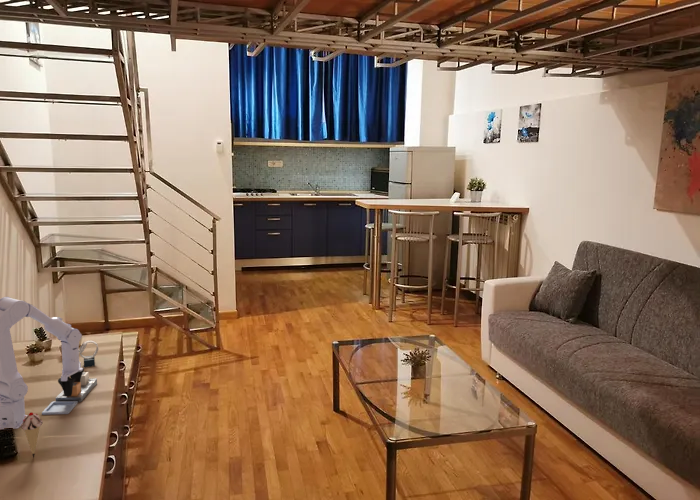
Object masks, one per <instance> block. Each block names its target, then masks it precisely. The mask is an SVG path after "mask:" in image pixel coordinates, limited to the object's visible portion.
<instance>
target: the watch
mask: <svg viewBox="0 0 700 500" xmlns="http://www.w3.org/2000/svg"><path fill="white" fill-rule="evenodd" d="M88 344H94V345H95V346H96V349H95V351H94V353H93V354H92V355H87V356H85V355H83V354H82V353H84V351H85V349H86V347H87V345H88ZM98 351H99V345H98V343H97V342H96V341H94V340H92V339H91V340H86V341H83V342H82V343H81V344H80V347H79V357H81V358H83V368H89V367H95V366H96V365H95V364H96V362H95V361H96V360H95V357H96V355H97V354H98Z"/></svg>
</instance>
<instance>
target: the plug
mask: <svg viewBox="0 0 700 500" xmlns="http://www.w3.org/2000/svg"><path fill="white" fill-rule="evenodd" d="M80 392H81V382H74V383H73V389H72V395H71V396H78V394H79V393H80Z"/></svg>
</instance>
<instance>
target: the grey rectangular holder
mask: <svg viewBox="0 0 700 500" xmlns="http://www.w3.org/2000/svg"><path fill="white" fill-rule="evenodd" d="M97 385H98V378H96V377H95V378H89V382H88V384H87V385H81V392H80V393H79V394H78V396H65V394H64V391H63V390H62V391H61V392H59V394H58V395H56V397H55V401H78V403H82V401H83V400H85V398H87V396H88V395H89V393H90V392H91V391H92V390H93V389H94V388H95V387H96V386H97Z"/></svg>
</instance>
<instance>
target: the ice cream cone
mask: <svg viewBox="0 0 700 500" xmlns="http://www.w3.org/2000/svg"><path fill="white" fill-rule="evenodd" d="M26 415H27V416H25V418H24V420H23V423H22V424H21V426H20V428H21V429H23V431H24V433H25V435H26V439H27V442H28V445H29V448H30V451H31V454H32V458H35V455H36V447H37V444H38V438H39V432H40V427H41V426H42V425H43V423H44V422H43V420H42V419H41V416H40V415H38V413H35V412H29V413H28V414H26Z"/></svg>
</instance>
